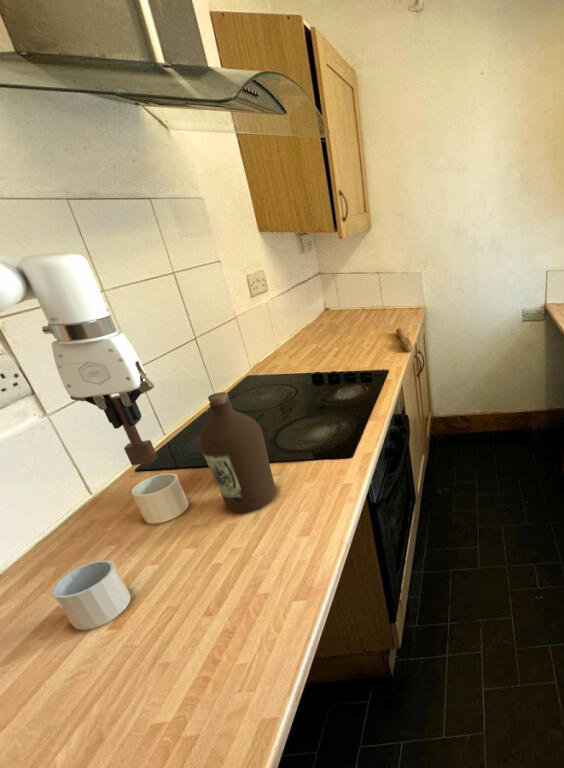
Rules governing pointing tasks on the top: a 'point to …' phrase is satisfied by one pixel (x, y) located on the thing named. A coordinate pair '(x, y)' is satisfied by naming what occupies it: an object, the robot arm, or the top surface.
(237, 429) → the olive oil
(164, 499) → the white cup
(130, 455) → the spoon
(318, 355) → the top surface
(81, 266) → the robot arm
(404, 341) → the rough brown stick
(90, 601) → the white mortar
